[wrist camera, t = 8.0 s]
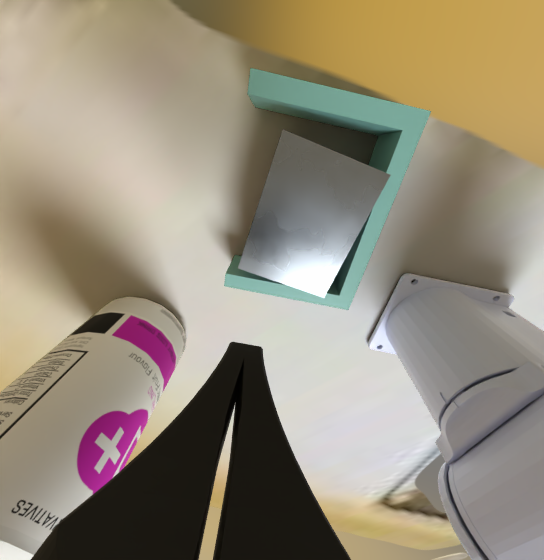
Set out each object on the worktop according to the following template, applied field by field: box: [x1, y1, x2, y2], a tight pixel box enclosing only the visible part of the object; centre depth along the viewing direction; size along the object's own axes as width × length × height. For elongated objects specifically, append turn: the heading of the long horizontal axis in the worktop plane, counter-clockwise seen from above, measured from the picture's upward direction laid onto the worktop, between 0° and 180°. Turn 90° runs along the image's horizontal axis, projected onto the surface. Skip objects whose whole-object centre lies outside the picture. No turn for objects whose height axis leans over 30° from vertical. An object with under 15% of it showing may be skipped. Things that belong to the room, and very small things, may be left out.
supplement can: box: [0, 297, 186, 560], centre depth 17 cm, size 8×8×15 cm
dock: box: [224, 68, 431, 310], centre depth 16 cm, size 9×12×4 cm
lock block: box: [238, 129, 391, 298], centre depth 16 cm, size 6×8×4 cm
